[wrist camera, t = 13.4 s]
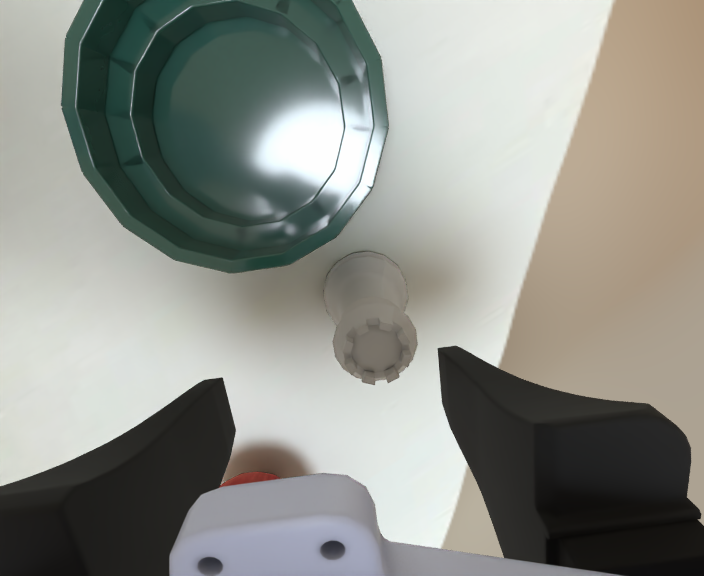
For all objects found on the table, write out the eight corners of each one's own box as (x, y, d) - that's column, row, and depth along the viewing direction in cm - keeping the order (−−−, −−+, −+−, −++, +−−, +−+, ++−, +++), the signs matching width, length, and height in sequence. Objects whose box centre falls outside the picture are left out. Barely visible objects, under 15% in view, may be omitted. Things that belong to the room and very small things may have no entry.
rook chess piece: (345, 235, 22) (348, 274, 14) (420, 270, 23) (461, 326, 15) (310, 308, 23) (296, 380, 16) (382, 340, 24) (402, 424, 16)
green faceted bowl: (76, 152, 21) (6, 150, 16) (208, -89, 18) (166, -168, 14) (284, 293, 23) (271, 324, 19) (427, 99, 20) (451, 83, 16)
